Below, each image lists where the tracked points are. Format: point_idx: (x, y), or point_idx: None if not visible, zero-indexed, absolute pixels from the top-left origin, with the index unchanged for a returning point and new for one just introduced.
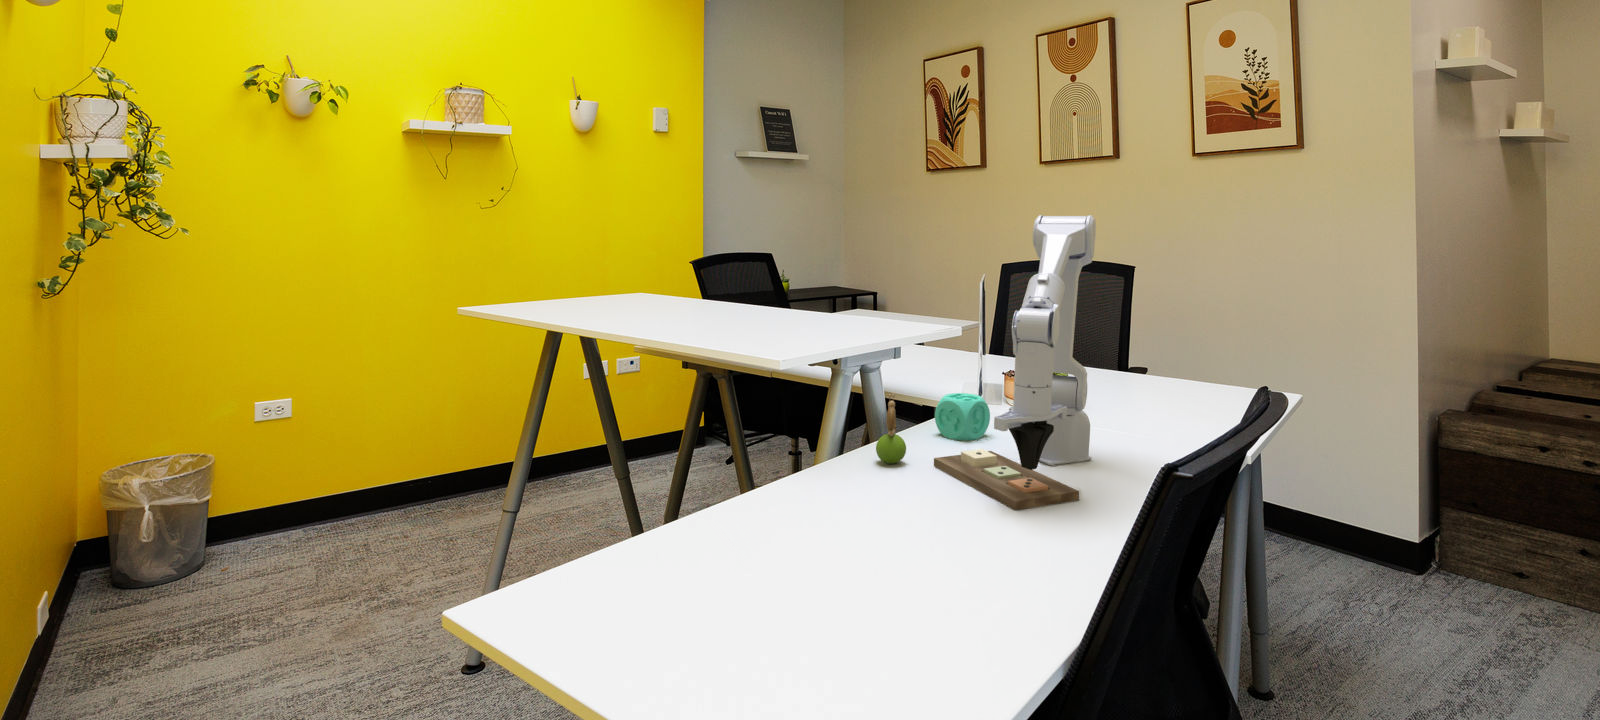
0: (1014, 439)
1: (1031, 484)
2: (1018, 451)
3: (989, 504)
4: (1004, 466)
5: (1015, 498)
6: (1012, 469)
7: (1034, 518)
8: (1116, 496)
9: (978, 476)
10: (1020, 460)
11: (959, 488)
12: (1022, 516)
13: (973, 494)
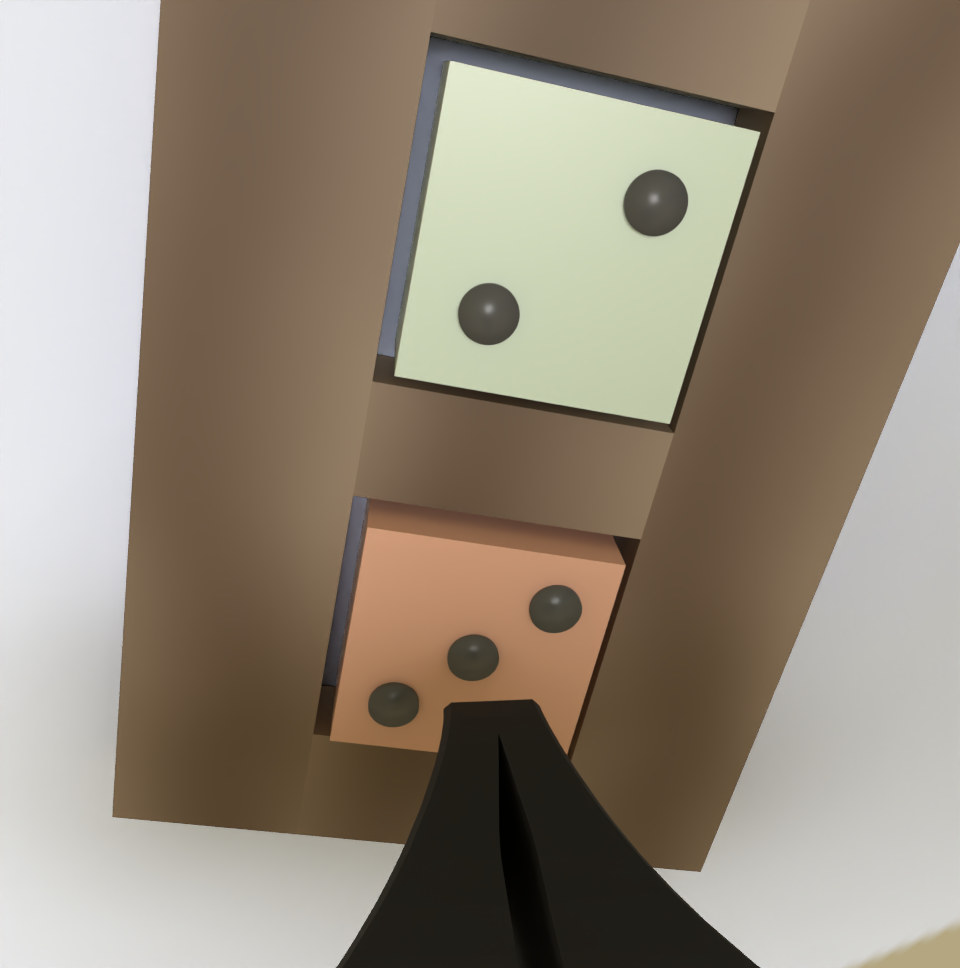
0: (354, 946)
1: (473, 687)
2: (419, 814)
3: (30, 594)
4: (723, 152)
5: (151, 782)
6: (702, 286)
7: (156, 894)
8: (937, 865)
9: (255, 182)
10: (439, 745)
11: (21, 130)
12: (105, 845)
13: (51, 348)
